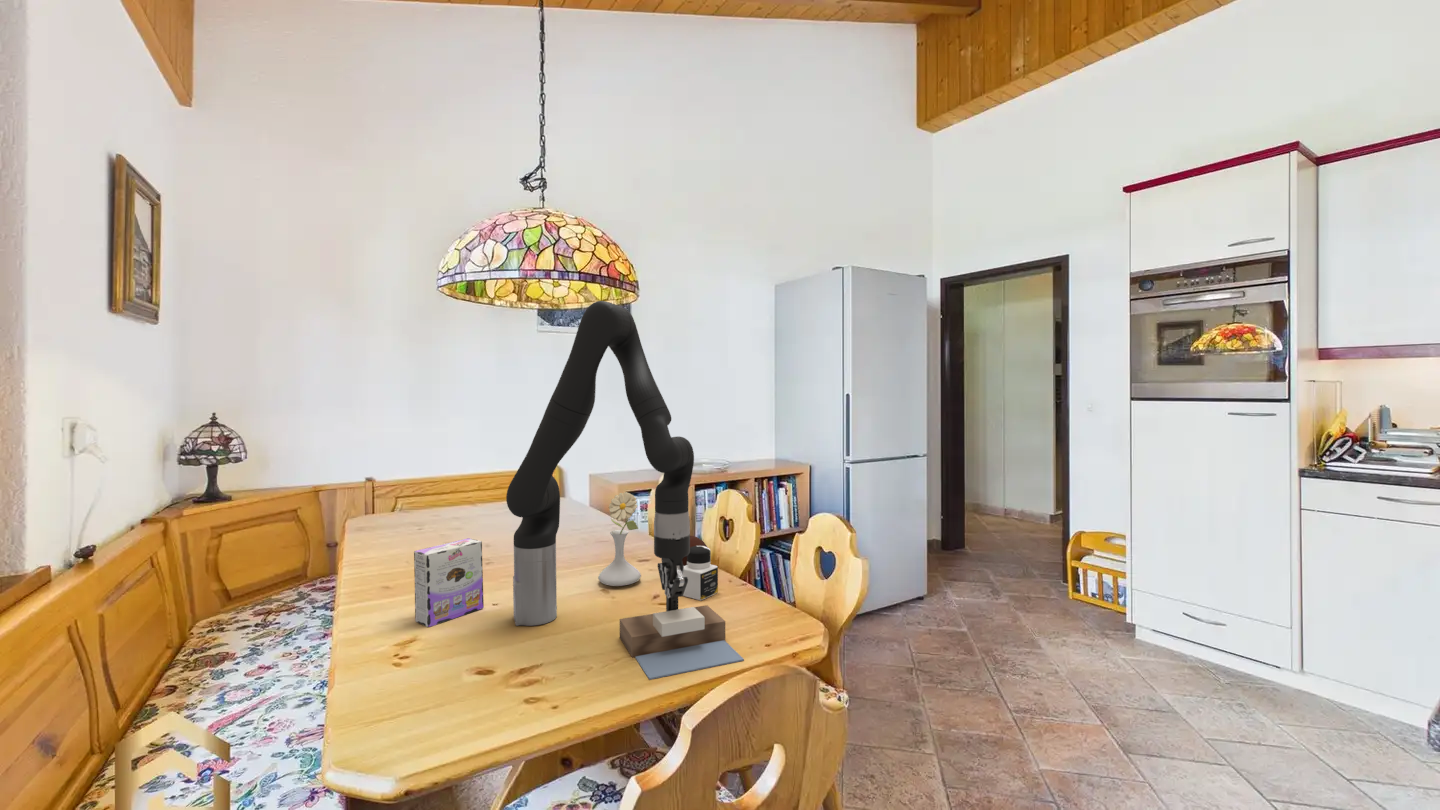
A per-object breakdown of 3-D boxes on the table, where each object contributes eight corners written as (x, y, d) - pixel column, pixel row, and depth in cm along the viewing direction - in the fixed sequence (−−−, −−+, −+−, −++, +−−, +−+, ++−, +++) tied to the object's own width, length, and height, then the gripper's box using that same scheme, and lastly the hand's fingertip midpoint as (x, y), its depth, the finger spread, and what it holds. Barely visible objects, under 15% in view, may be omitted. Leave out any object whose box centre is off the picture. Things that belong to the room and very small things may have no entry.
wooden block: (632, 657, 118) (632, 637, 118) (619, 637, 128) (619, 619, 127) (725, 640, 126) (725, 621, 126) (707, 622, 135) (707, 605, 135)
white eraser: (662, 636, 119) (662, 624, 118) (652, 625, 124) (652, 613, 124) (704, 629, 122) (704, 617, 122) (693, 618, 128) (693, 606, 128)
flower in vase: (589, 583, 163) (588, 490, 162) (623, 573, 171) (622, 485, 170) (619, 594, 154) (618, 497, 153) (653, 583, 162) (653, 491, 161)
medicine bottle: (700, 601, 149) (700, 553, 149) (679, 595, 153) (678, 548, 153) (718, 593, 155) (718, 546, 154) (696, 587, 159) (696, 542, 159)
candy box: (470, 603, 147) (469, 536, 147) (484, 608, 144) (483, 540, 143) (414, 622, 136) (412, 549, 136) (428, 628, 133) (426, 553, 132)
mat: (649, 679, 109) (649, 678, 109) (635, 657, 118) (635, 656, 118) (743, 660, 117) (743, 659, 117) (724, 641, 126) (724, 640, 126)
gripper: (645, 527, 131) (646, 606, 132) (665, 541, 119) (665, 628, 120) (677, 523, 134) (678, 600, 135) (700, 537, 122) (700, 622, 123)
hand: (672, 613), depth 127 cm, fingers closed
